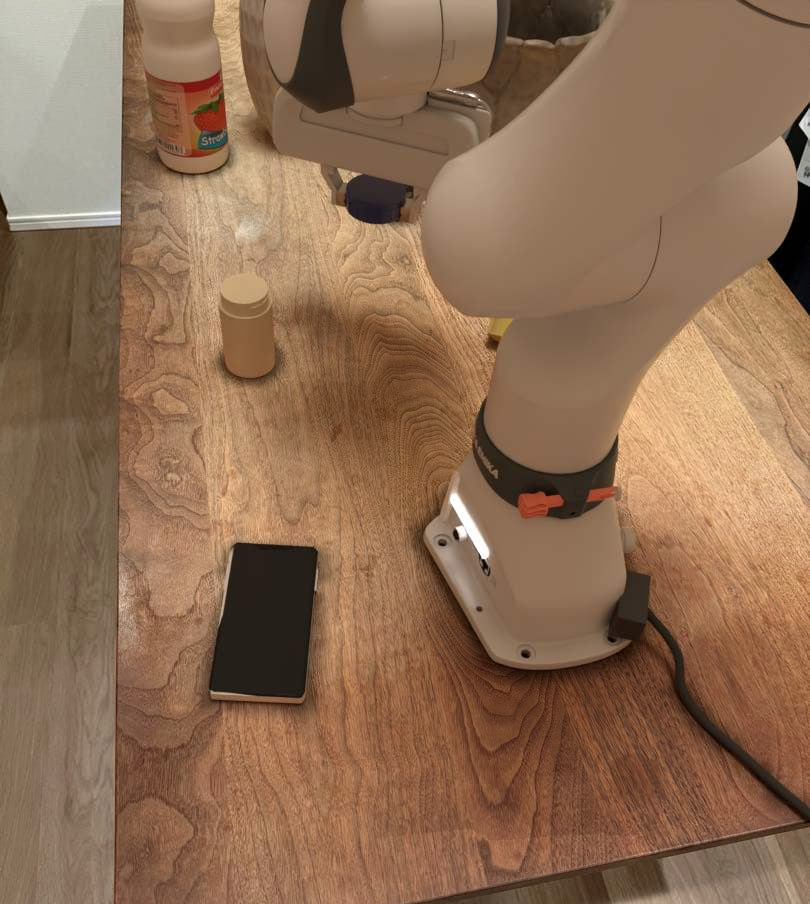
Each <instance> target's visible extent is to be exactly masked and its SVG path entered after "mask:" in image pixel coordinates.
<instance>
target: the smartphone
mask: <svg viewBox="0 0 810 904" xmlns="http://www.w3.org/2000/svg"><path fill="white" fill-rule="evenodd" d="M318 563H319V551H318V550H317V549H316V548H315V546H308V545H289V544H275V543H274V544H273V543H272V544H271V543H257V542H256V543H254V542H235V543H233V545H232V546H231V547H230V552H229V553H228V559H227V564H226V570H225V576H224V581H223V589H222V591H223V596H222V602H221V607H220V608H221V609H220V614H219V615H220V616H219V621H218V625H217V626H218V627H217V632H216V639H215V643H214V651H213V657H212V662H211V663H212V664H211V669H210V676H209V682H208V691H209V695H210V698H211V700H217V701H218V700H219V701H240V702H261V703H262V702H263V703H278V704H279V703H281V704H282V703H284V704H302V703H303V702H304V701H305V699H306V695H307V694H306V693H307V682H308V672H309V662H310V661H309V660H310V652H311V651H310V650H311V640H312V628H313V618H314V617H313V616H314V606H315V605H314V604H315V595H317V589H318V582H319V581H318V579H319V568H318V565H319V564H318Z"/></svg>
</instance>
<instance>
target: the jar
mask: <svg viewBox="0 0 810 904" xmlns="http://www.w3.org/2000/svg"><path fill="white" fill-rule="evenodd" d="M217 303H218V304H217V305H218V306H217V307H218V313H219V315H218V316H219V323H220V332H221V339H222V347H223V348H222V349H223V356H224V364H225V367H226V368H227V371H229V372H230V373H231V374H232V375H234V376H236V377H239V378H245V379H256V378H260V377H263V376H265V375H267V374H269V373H270V372H271V371H272V370H273V369H274V367H275V365H276V346H275V343H276V342H275V327H274V325H275V324H274V309H273V308H274V307H273V298H272V295H271V290H270V286H269V284H268V283H267V281H266V280H265V279H264V278H262V277H261V276H260V275H257V274H253V273H248V272H247V273H245V272H240V273H235V274H231V275H229V276H227V277H226V278H224V279H223V280H222V282H221V283H220V286H219V296H218V300H217Z"/></svg>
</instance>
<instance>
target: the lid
mask: <svg viewBox="0 0 810 904" xmlns="http://www.w3.org/2000/svg"><path fill="white" fill-rule="evenodd" d="M347 183H348V184H347V186H346V195H345V207H344V208H345V209H346V211H347V214H349V215H350V216H351V217H352V218H354V219H355V220H357V221H359V222H361V223H364V224H368V225H386V224H392V223H394V222H396V221H399V220H398V219H399V218H400V216H401V213H400V211H401V206H402V205H403V204H404V202H405V201H406V188H405V186H404V185H403V184H402V183H397V182H393V181H389V180H385V179H381V178H377V177H373V176H368V175H364V174H358V175H356V176H354V177H352V178H351V179H350V180H349V181H347Z"/></svg>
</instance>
